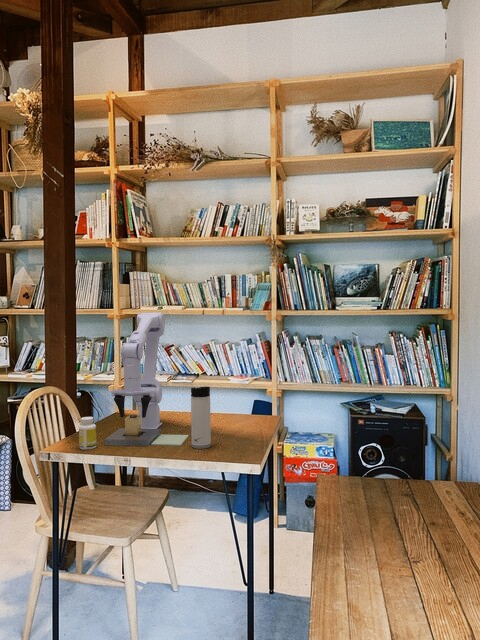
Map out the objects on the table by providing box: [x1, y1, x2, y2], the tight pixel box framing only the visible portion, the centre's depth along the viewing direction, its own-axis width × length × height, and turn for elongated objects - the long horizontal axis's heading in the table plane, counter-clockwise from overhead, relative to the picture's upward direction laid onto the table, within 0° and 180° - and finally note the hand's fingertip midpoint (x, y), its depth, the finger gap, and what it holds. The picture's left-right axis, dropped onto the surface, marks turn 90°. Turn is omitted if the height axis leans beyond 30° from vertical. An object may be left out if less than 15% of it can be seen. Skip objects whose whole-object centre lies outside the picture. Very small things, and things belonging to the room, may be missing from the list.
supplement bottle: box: [78, 416, 97, 451], centre depth 168 cm, size 5×5×10 cm
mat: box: [150, 434, 189, 447], centre depth 175 cm, size 12×10×1 cm
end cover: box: [124, 413, 142, 437], centre depth 177 cm, size 4×4×9 cm
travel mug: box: [190, 386, 212, 450], centre depth 167 cm, size 6×7×20 cm
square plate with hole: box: [104, 427, 162, 447], centre depth 177 cm, size 15×15×2 cm
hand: (133, 417), depth 176 cm, fingers open, 7 cm apart
